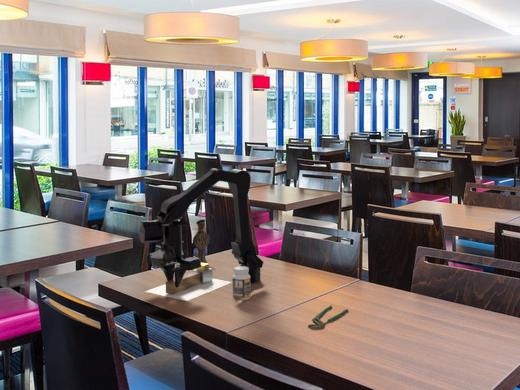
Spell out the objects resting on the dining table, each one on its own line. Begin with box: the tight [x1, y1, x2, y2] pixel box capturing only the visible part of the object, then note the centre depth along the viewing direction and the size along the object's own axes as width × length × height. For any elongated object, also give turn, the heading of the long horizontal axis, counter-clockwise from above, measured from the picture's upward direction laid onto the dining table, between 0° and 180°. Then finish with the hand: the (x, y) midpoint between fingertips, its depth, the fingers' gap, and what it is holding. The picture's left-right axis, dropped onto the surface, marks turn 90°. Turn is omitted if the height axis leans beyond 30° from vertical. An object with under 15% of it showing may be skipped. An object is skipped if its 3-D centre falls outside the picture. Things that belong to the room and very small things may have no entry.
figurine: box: [192, 218, 210, 264], centre depth 236 cm, size 7×5×18 cm
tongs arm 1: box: [165, 271, 195, 294], centre depth 202 cm, size 14×1×4 cm, turn 146°
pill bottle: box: [232, 265, 252, 301], centre depth 195 cm, size 6×6×10 cm
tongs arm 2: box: [168, 273, 200, 294], centre depth 202 cm, size 14×1×4 cm, turn 146°
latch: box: [196, 263, 210, 271], centre depth 210 cm, size 3×4×2 cm
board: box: [144, 277, 233, 302], centre depth 205 cm, size 18×24×1 cm
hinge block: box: [192, 267, 213, 284], centre depth 211 cm, size 5×4×4 cm
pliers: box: [307, 304, 349, 330], centre depth 177 cm, size 20×6×1 cm, turn 148°
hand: (173, 286), depth 199 cm, fingers open, 2 cm apart
